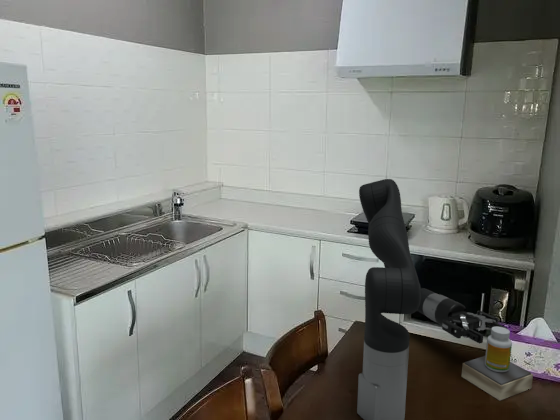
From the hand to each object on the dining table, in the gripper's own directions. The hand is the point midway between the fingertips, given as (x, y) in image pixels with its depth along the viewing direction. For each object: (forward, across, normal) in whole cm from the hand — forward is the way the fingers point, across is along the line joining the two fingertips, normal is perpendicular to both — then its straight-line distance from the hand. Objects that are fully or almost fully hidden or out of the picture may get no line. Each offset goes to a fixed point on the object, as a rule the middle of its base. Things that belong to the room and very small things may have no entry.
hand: (494, 336), depth 110 cm
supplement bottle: (+2, 0, +8) cm, 8 cm away
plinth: (+2, 0, +12) cm, 12 cm away
